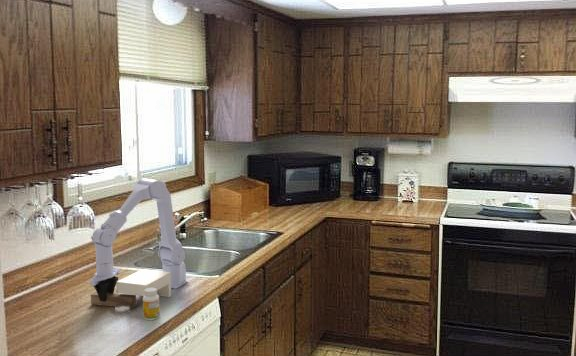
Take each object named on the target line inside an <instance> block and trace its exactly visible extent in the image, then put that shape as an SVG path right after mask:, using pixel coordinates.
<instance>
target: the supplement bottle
mask: <svg viewBox="0 0 576 356" xmlns="http://www.w3.org/2000/svg"><path fill="white" fill-rule="evenodd" d="M142 313H143V314H142V315H143V317H142V318H143V319H144V320H146V321H155V320H158V319H159V318H160V316H161V314H160V313H161V308H160V296H158V295H157V289H156V288H147V289H145V296H142Z"/></svg>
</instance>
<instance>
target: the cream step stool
mask: <svg viewBox="0 0 576 356" xmlns="http://www.w3.org/2000/svg"><path fill="white" fill-rule="evenodd" d="M147 288H156V289H157V295H158V296H159V297H165V298H170V297H171V296H172V288H171V272H165V271H163V270H155V269H146V268H142V269H140V270H138V271H136V272H134V273H131V274H130V275H128V276H126V277H123V278H121V279H118V281H117V283H116V290H115V291H116V293H115V294H128V295H136V296H139V297H144V296H145V289H147Z"/></svg>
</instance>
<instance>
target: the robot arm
mask: <svg viewBox="0 0 576 356" xmlns="http://www.w3.org/2000/svg"><path fill="white" fill-rule="evenodd" d="M150 199H152V200H154V201H156V208H157V214H158V221H159V229H160V234H161V235H160V236H161V240H160V241H159V243H158V247H159V248H158V251H157V255H158V257H159V259H160V260H161V263H162V271H165V272H171V289H178V288H180V287H181V286H183V285H185V284H186V283H188V282H189V280H187V275H186V274H187V272H186V271H187V269H186V267H187V266H186V263H185V262H184V260H185V258H186V257H185V256H186V253H185V250H184V249H183V245H182V242H180V240H178V238H177V233H176V227H175V226H176V224H175V218H174V211H173V204H172V203H173V202H172V195H171V193H170V192H169V190H168V188H167V183H166V182H164V181H161V180H158V179H156V180H155V179H150V178H149V179H148V178H147V177H146V178H145V177H143V178H141V179H139V180H138V181H137V182H136V184H134V186H133V190H132V191H131V192H130V194H129V195H128V197H127V198H126V199H125V201H124V203H122V205H121V206H120V208H119V210H113V211H112V212H110V213H109V214H108V218H106V220H105V221H104V223H101V225H100V227H98V228H96V229H95V230H94V231H93V233H92V236H90V238H91V241H92V243H93V244H94V248H95V249H94V250H95V267H96V268H95V269H96V271H95V273H94V276H93V277H92V278H90V279H89V286H91V287H92V286H93V287H94V289H95V292H97V293H98V296H99V299H100V301H103V302H105V301H106V297H107V293H115V289H116V287H117V281H119V277H118V276H117V275H120V274H121V268H116V267H115V268H114V255H113V254H114V253H113V252H114V251H113V244H114V243H115V241H116V239H117V235H118V232H119V231H120V230H121V229H122V227H124V225H125V224H126V223H127V221H128V219H127V216H128V215H129V214H130V213H131V212H132V211H133V210H134V209H135V208H136V206H137V205H139V203H140V202H141V201H145V200H150Z"/></svg>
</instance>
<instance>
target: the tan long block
mask: <svg viewBox="0 0 576 356" xmlns="http://www.w3.org/2000/svg"><path fill="white" fill-rule="evenodd" d="M121 303H127V304H130V309H133V308H134V307H136V306H137V295H131V294H123V293H115V292H114V293H107V297H106V301H105V302H103V301H100V299H99V296H98V293H97V291H94V292H93V293H90V304H91V305H96V306H104V307H115V306H116V305H117V304H121Z"/></svg>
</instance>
